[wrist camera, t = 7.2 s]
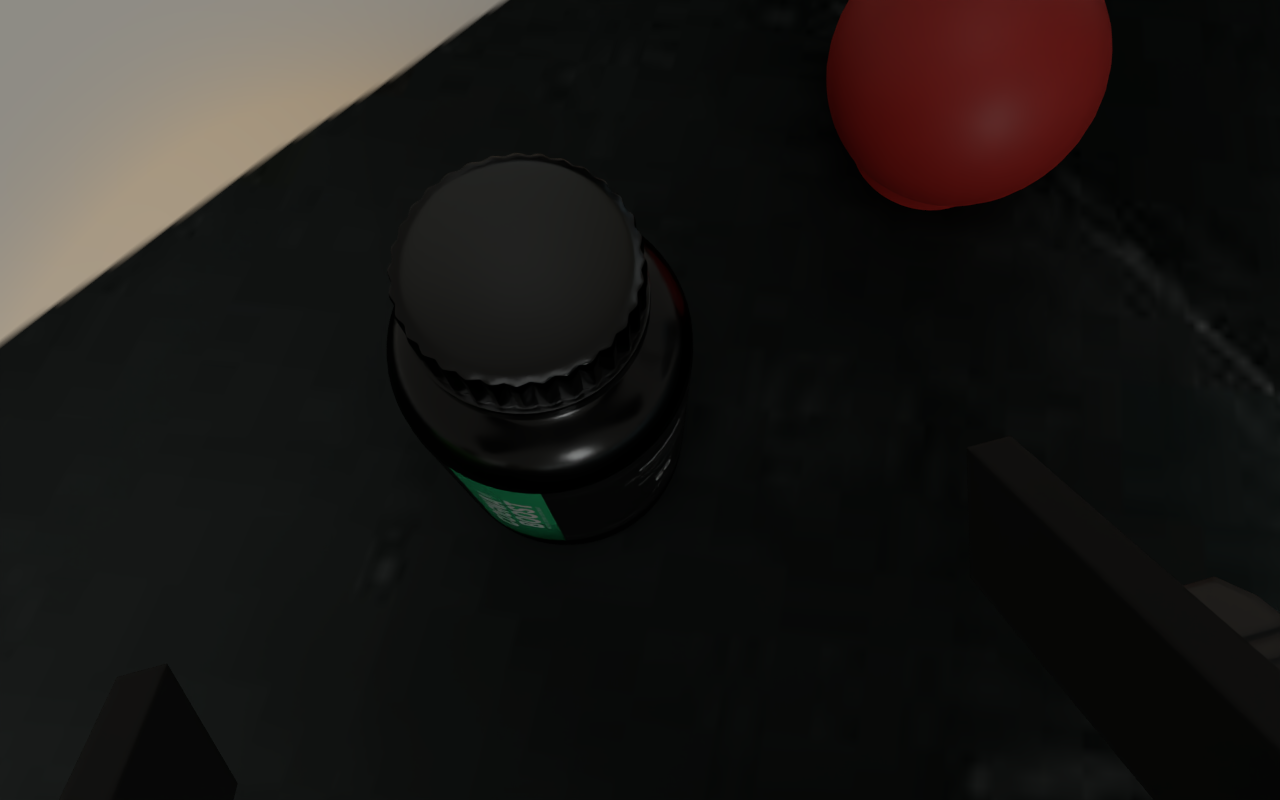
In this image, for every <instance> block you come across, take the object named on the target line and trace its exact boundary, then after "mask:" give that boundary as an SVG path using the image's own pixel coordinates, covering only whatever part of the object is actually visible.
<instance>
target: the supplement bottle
mask: <svg viewBox="0 0 1280 800" xmlns="http://www.w3.org/2000/svg"><path fill="white" fill-rule="evenodd" d="M391 255H392V262H391V264H390V265H389V268H388V270H387V273H388V276H389V279H390V281H391V286H390V289H389V298H390V300H391V301H392V303H393V305H394V307H393V310H392V314H391V317H390V322H389V327H388V335H387V364H388V372H389V377H390V382H391V386H392V390H393V392H394V395H395V398H396V401H397V403H398V405H399V407H400V410H401V412H402V414H403V415H404V417H405V419H406V420H407V422H408V424H409V425H410V427H411V429H412V430H413V432H414V433H415V434H416V436H417V437H418V438H419V440H420V441H421V442H422V443H423V445H424V446H425V447H426V448H427V449H428V450H429V451H430V452H431V453H432V455H433V456H434V457H435V458H436V459H437V460H438V461H439V462H440V463H441V464H442V465H443V466H444V468H445V469H446V470H447V471H448V472H449V473H450V474H451V475H452V476H453V477H454V478H455V479H456V480H457V482H458V483H459V484H460V485H461V486H462V487H463V488H464V489H465V490H466V491H467V492H468V493H469V495H470V496H471V497H472V498H473V499H474V500H475V501H476V502H477V503H478V504H479V505H480V506H481V507H482V508H483V509H484V510H485V511H486V512H487V513H488V514H489V515H490V516H491V517H493V518H494V519H495V520H496V521H497V522H499V523H500V524H502V525H503V526H505V527H506V528H508V529H510V530H512V531H513V532H515V533H517V534H520V535H522V536H524V537H527V538H529V539H533V540H536V541H540V542H544V543H549V544H559V545H574V544H584V543H589V542H594V541H597V540H601V539H604V538H607V537H609V536H612V535H614V534H616V533H618V532H620V531H622V530H624V529H626V528H627V527H629V526H630V525H632V524H633V523H635V522H636V521H638V520H639V519H640V518H641V517H642V516H644V515H645V514H646V513H647V512H648V511H649V510H650V509H651V508H652V507H653V506H654V504H655V503H656V502H657V501H658V500H659V498H660V497H661V495H662V494H663V492H664V491H665V489H666V487H667V486H668V484H669V482H670V480H671V478H672V476H673V473H674V471H675V468H676V465H677V462H678V458H679V454H680V449H681V444H682V438H683V430H684V423H685V415H686V407H687V399H688V391H689V384H690V376H691V367H692V356H693V335H692V325H691V317H690V313H689V309H688V304H687V301H686V298H685V296H684V293H683V290H682V288H681V286H680V284H679V281H678V279H677V277H676V276H675V274H674V272H673V271H672V269H671V267H670V266H669V264H668V263H667V262H666V260H665V259H664V258H663V256H662V255H661V254H660V253H659V252H658V250H657V249H656V248H655V247H654V246H653V245H652V244H651V243H650V242H649V241H648V240H647V239H645V238H644V237H643V236H642V235H641V234H640V233H639V231H638V230H637V229H636V222H635V217H634V215H633V214H632V213H631V212H630V211H628V210H627V209H626V208H625V207H624V203H623V200H622V197H621V196H619V195H618V194H616V193H614V192H612V191H611V190H610V189H609V187H608V185H607V183H606V182H605V180H602V179H600V178H596V177H594V176H592V175H591V173H590V172H589V171H588V170H587V169H586V168H585V167H580V166H573V165H571V164H570V163H569V162H568V161H566V160H565V159H560V158H557V159H550V158H548V157H547V156H544V155H542V154H534V155H530V156H527V155H523V154H519V153H513V154H510V155H508V156H506V157H500V156H491V157H489V158H487V159H485V160H483V161H482V162H473V163H468V164H466V165H465V166H464V167H463V168H462V169H461V170H459V171H455V172H451V173H448V174H446V175H445V176H444V177H443V178H442V180H441V181H440V182H439V183H438V184H436V185H433V186H431V187H429V188H427V190H426V191H425V193H424V195H423V197H422V199H421V200H420V201H418V202H416V203H415V204H413V205H412V206H411V208H410V211H409V215H408V218H407V219H406V220H404V221H403V222H402V224H401V225H400V226H399V229H398V239H397V240H396V241H395V242H394V244H393V245H392V247H391Z"/></svg>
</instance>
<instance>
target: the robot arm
mask: <svg viewBox="0 0 1280 800" xmlns="http://www.w3.org/2000/svg"><path fill="white" fill-rule="evenodd" d="M967 473H968V510H969V546H970V578H971V579H972V580H973V581H974V582H975V584H976V585H977V586H978V587H979V588H980V590H981V591H982V592H983V593H984V595H985V596H986V597H987V598H988V599H989V601H990V602H991V603H992V604H993V605H994V607H995V608H996V609H997V610H998V612H999V613H1000V614H1001V615H1002V616H1003V618H1004V619H1005V620H1006V621H1007V622H1008V624H1009V625H1010V626H1011V627H1012V629H1013V630H1014V631H1015V632H1016V633H1017V635H1018V636H1019V637H1020V638H1021V639H1022V641H1023V642H1024V643H1025V644H1026V645H1027V647H1028V648H1029V649H1030V650H1031V652H1032V653H1033V654H1034V655H1035V656H1036V658H1037V659H1038V660H1039V661H1040V662H1041V664H1042V665H1043V666H1044V667H1045V669H1046V670H1047V671H1048V672H1049V673H1050V675H1051V676H1052V677H1053V678H1054V679H1055V681H1056V682H1057V683H1058V684H1059V685H1060V687H1061V688H1062V689H1063V690H1064V692H1065V693H1066V694H1067V695H1068V696H1069V698H1070V699H1071V700H1072V701H1073V702H1074V704H1075V705H1076V706H1077V707H1078V709H1079V710H1080V711H1081V712H1082V713H1083V715H1084V716H1085V717H1086V718H1087V719H1088V721H1089V722H1090V723H1091V724H1092V726H1093V727H1094V728H1095V729H1096V730H1097V732H1098V733H1099V734H1100V735H1101V736H1102V738H1103V739H1104V740H1105V741H1106V742H1107V744H1108V745H1109V746H1110V747H1111V749H1112V750H1113V751H1114V752H1115V753H1116V755H1117V756H1118V757H1119V758H1120V759H1121V761H1122V762H1123V763H1124V764H1125V766H1126V767H1127V768H1128V769H1129V770H1130V772H1131V773H1132V774H1133V775H1134V776H1135V778H1136V779H1137V780H1138V781H1139V782H1140V784H1141V785H1142V786H1143V787H1144V789H1145V790H1146V791H1147V792H1148V793H1149V795H1150V796H1151V797H1152V798H1153V799H1154V800H1280V613H1278V612H1277V611H1276V610H1275V609H1273V608H1272V607H1271V606H1270V605H1268V604H1267V603H1266V602H1265V601H1263V600H1262V599H1261V598H1260V597H1258V596H1257V595H1254V594H1252V593H1250V592H1248V591H1246V590H1243V589H1241V588H1239V587H1237V586H1234V585H1232V584H1230V583H1228V582H1226V581H1223V580H1221V579H1219V578H1217V577H1211V578H1208V579H1204V580H1201V581H1197V582H1194V583H1190V584H1187V585H1182V584H1180V583H1179V582H1178V581H1177V580H1176V579H1175V578H1174V577H1172V576H1171V575H1170V574H1169V573H1168V572H1167V571H1165V570H1164V569H1163V568H1162V567H1161V566H1160V565H1159V564H1157V563H1156V562H1155V561H1154V560H1153V559H1152V558H1151V557H1149V556H1148V555H1147V554H1146V553H1145V552H1144V551H1142V550H1141V549H1140V548H1139V547H1138V546H1137V545H1136V544H1134V543H1133V542H1132V541H1131V540H1130V539H1129V538H1127V537H1126V536H1125V535H1124V534H1123V533H1122V532H1121V531H1119V530H1118V529H1117V528H1116V527H1115V526H1114V525H1113V524H1111V523H1110V522H1109V521H1108V520H1107V519H1106V518H1104V517H1103V516H1102V515H1101V514H1100V513H1099V512H1098V511H1096V510H1095V509H1094V508H1093V507H1092V506H1091V505H1089V504H1088V503H1087V502H1086V501H1085V500H1084V499H1083V498H1081V497H1080V496H1079V495H1078V494H1077V493H1076V492H1075V491H1073V490H1072V489H1071V488H1070V487H1069V486H1068V485H1066V484H1065V483H1064V482H1063V481H1062V480H1061V479H1060V478H1058V477H1057V476H1056V475H1055V474H1054V473H1053V472H1052V471H1050V470H1049V469H1048V468H1047V467H1046V466H1045V465H1043V464H1042V463H1041V462H1040V461H1039V460H1038V459H1037V458H1035V457H1034V456H1033V455H1032V454H1031V453H1030V452H1028V451H1027V450H1026V449H1025V448H1024V447H1023V446H1022V445H1020V444H1019V443H1018V442H1017V441H1016V440H1015V439H1014V438H1012V437H1011V436H1008V437H1004V438H1000V439H996V440H993V441H989V442H985V443H982V444H978V445H974V446H971V447H967ZM237 784H238V783H237V782H236V780H235V778H234V776H233V775H232V773H231V771H230V770H229V768H228V766H227V765H226V763H225V761H224V759H223V758H222V756H221V754H220V753H219V751H218V749H217V748H216V746H215V744H214V742H213V741H212V739H211V737H210V736H209V734H208V732H207V731H206V729H205V727H204V726H203V724H202V722H201V720H200V719H199V717H198V715H197V714H196V712H195V710H194V709H193V707H192V705H191V703H190V702H189V700H188V698H187V697H186V695H185V693H184V692H183V690H182V688H181V686H180V685H179V683H178V681H177V680H176V678H175V676H174V675H173V673H172V671H171V669H170V668H169V666H168V664H163V665H160V666H156V667H152V668H148V669H145V670H141V671H137V672H134V673H130V674H126V675H123V676H119V677H117V678H116V680H115V682H114V684H113V686H112V689H111V691H110V693H109V695H108V697H107V699H106V701H105V703H104V706H103V708H102V710H101V712H100V714H99V716H98V718H97V720H96V723H95V725H94V727H93V729H92V731H91V733H90V735H89V737H88V740H87V742H86V744H85V746H84V748H83V750H82V752H81V754H80V756H79V759H78V761H77V763H76V765H75V767H74V769H73V771H72V773H71V776H70V778H69V780H68V782H67V784H66V786H65V788H64V790H63V793H62V795H61V797H60V799H59V800H233V799H234V795H235V791H236V788H237Z"/></svg>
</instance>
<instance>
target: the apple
mask: <svg viewBox="0 0 1280 800" xmlns="http://www.w3.org/2000/svg"><path fill="white" fill-rule="evenodd" d="M1111 60H1112V34H1111V24H1110V20H1109V16H1108V12H1107V8H1106V4H1105V1H1104V0H849V1H848V3H847V5H846V7H845V8H844V10H843V12H842V14H841V16H840V19H839V21H838V24H837V27H836V29H835V32H834V35H833V38H832V41H831V46H830V51H829V57H828V62H827V79H826V81H827V97H828V104H829V108H830V112H831V116H832V119H833V123H834V126H835V129H836V131H837V133H838V135H839V138H840V140H841V141H842V143H843V145H844V146H845V148H846V150H847V151H848V153H849V154H850V156H851V157H852V159H853V160H854V161H855V163H856V165H857V168H858V170H859V171H860V173H861V174H862V176H863V177H864V179H865V180H866V181H867V182H868V184H869V185H870V186H871V187H872V188H874V189H875V190H876V191H877V192H878V193H880V194H881V195H882V196H884V197H886V198H887V199H889V200H891V201H893V202H895V203H897V204H900V205H903V206H906V207H909V208H914V209H919V210H942V209H948V208H951V207H955V206H967V205H973V204H979V203H985V202H990V201H993V200H996V199H1000V198H1003V197H1005V196H1007V195H1010V194H1012V193H1014V192H1016V191H1019V190H1021V189H1023V188H1025V187H1027V186H1029V185H1030V184H1032V183H1033V182H1035V181H1037V180H1038V179H1040V178H1041V177H1042V176H1044V175H1045V174H1047V173H1048V172H1049V171H1050V170H1052V169H1053V168H1054V167H1055V166H1056V165H1058V164H1059V163H1060V162H1061V161H1062V160H1063V159H1064V158H1065V157H1066V156H1067V155H1068V153H1069V152H1070V151H1071V150H1072V149H1073V148H1074V147H1075V146H1076V144H1077V143H1078V142H1079V141H1080V139H1081V138H1082V136H1083V135H1084V133H1085V131H1086V130H1087V128H1088V127H1089V125H1090V124H1091V122H1092V121H1093V119H1094V117H1095V115H1096V113H1097V110H1098V108H1099V106H1100V103H1101V101H1102V98H1103V96H1104V93H1105V90H1106V86H1107V82H1108V78H1109V73H1110V68H1111Z"/></svg>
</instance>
